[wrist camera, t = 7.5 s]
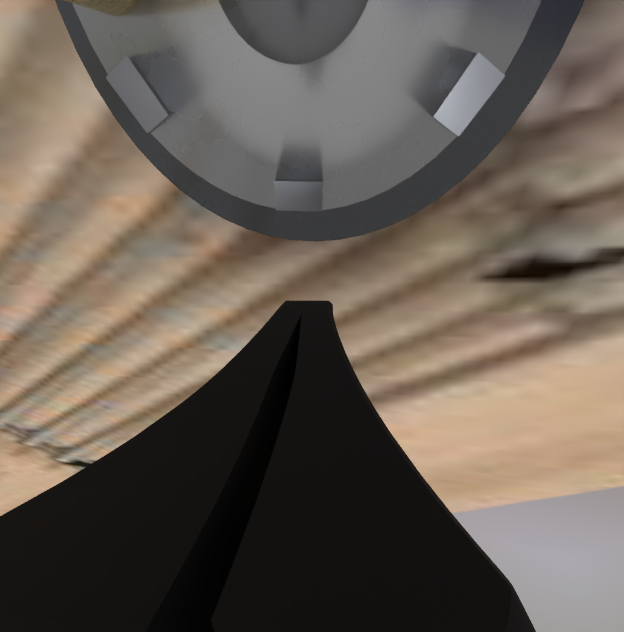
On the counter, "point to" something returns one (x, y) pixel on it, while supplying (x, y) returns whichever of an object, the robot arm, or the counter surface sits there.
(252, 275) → the counter surface
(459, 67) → the lugged hub disc
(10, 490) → the counter surface
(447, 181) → the dark grey flat disc
